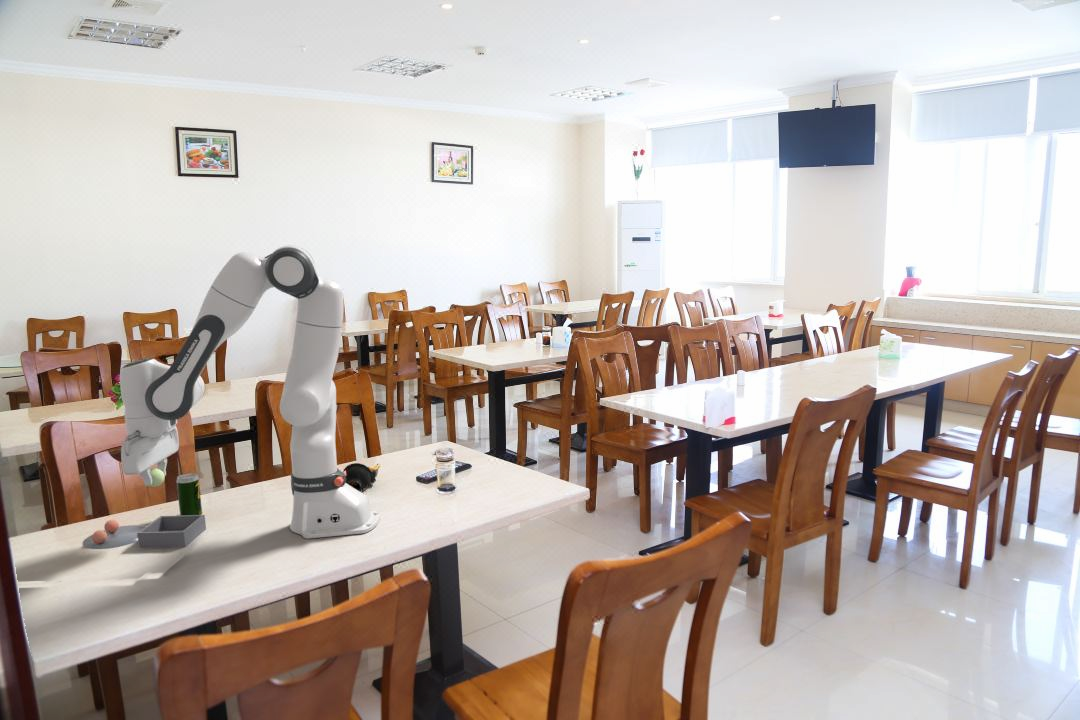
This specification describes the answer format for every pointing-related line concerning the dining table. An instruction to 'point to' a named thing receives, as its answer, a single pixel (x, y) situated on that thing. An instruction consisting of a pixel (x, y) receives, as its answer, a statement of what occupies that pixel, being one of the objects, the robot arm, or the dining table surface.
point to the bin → (171, 531)
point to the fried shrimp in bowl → (360, 475)
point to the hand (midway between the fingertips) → (155, 480)
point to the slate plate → (116, 538)
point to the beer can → (189, 494)
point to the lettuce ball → (157, 477)
